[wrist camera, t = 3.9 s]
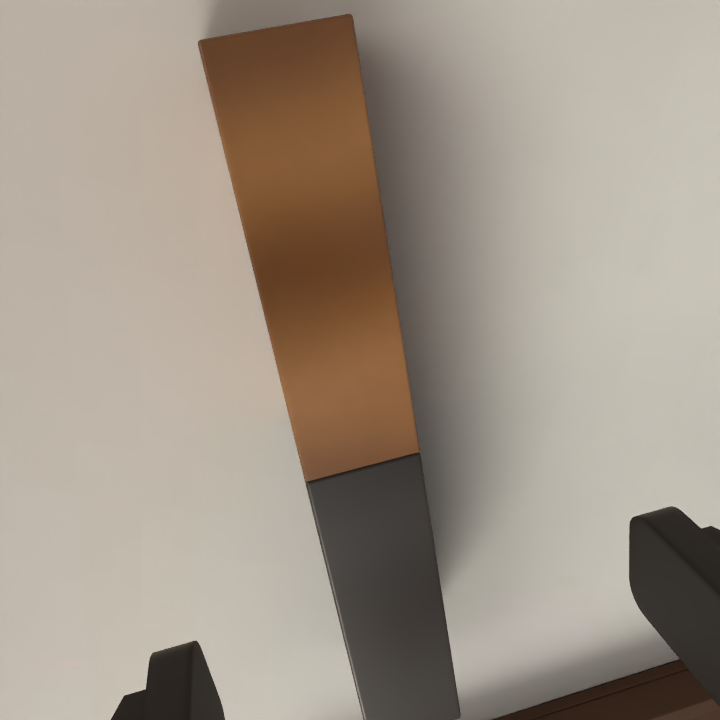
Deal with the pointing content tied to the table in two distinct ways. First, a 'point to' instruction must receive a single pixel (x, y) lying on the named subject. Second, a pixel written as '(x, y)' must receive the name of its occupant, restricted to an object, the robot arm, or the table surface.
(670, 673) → the tool tray
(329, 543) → the whetstone
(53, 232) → the table surface
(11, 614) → the table surface
